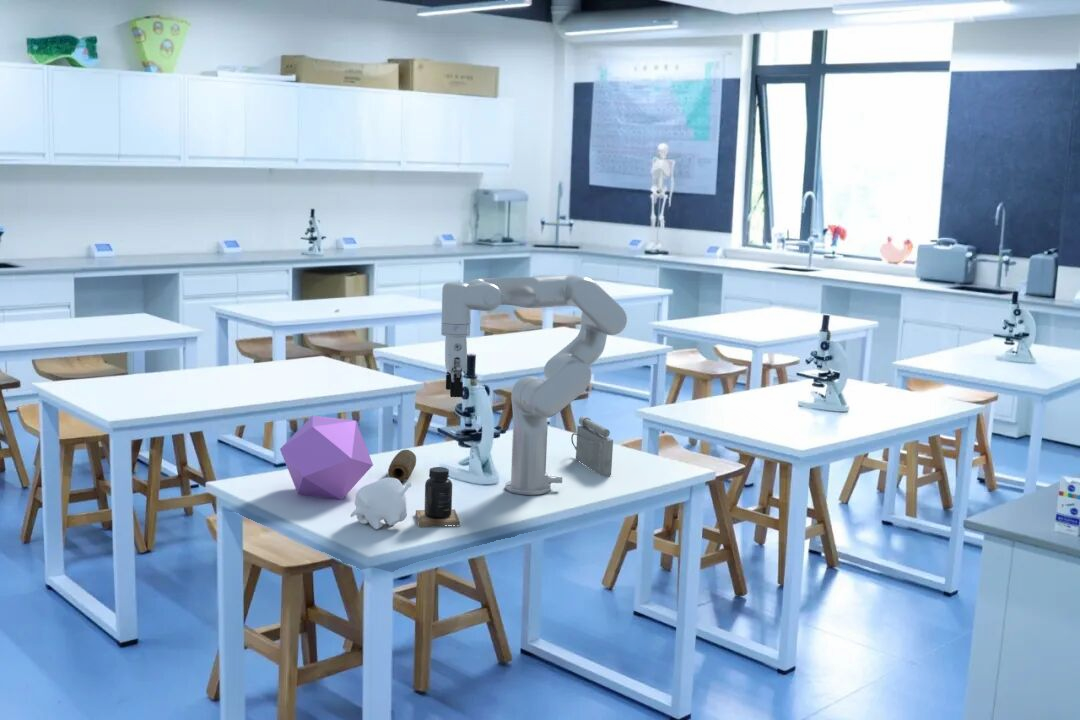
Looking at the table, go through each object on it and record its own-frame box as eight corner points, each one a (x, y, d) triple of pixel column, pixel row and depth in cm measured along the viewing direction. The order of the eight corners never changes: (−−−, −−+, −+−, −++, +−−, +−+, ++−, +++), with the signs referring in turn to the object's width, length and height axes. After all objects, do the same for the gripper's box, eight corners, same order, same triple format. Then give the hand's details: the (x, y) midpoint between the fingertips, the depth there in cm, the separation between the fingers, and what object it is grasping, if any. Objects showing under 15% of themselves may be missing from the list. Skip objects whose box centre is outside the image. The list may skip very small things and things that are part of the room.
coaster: (454, 513, 294) (454, 509, 293) (459, 526, 284) (459, 521, 284) (415, 514, 292) (415, 509, 291) (419, 527, 282) (419, 522, 282)
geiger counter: (617, 429, 333) (583, 411, 356) (597, 430, 331) (564, 412, 354) (615, 475, 336) (580, 454, 359) (595, 477, 333) (562, 455, 356)
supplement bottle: (418, 514, 288) (419, 468, 286) (440, 509, 292) (441, 464, 290) (435, 521, 283) (436, 474, 281) (457, 516, 287) (458, 470, 285)
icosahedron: (394, 476, 301) (364, 392, 309) (323, 489, 287) (293, 400, 295) (357, 509, 317) (329, 428, 324) (288, 522, 303) (261, 438, 310)
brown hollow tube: (392, 469, 333) (392, 447, 332) (416, 470, 334) (417, 447, 332) (387, 483, 319) (387, 460, 318) (412, 484, 319) (412, 461, 318)
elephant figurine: (383, 530, 290) (365, 488, 291) (434, 505, 281) (415, 462, 282) (353, 543, 280) (333, 500, 281) (404, 519, 271) (384, 474, 272)
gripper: (474, 334, 294) (472, 399, 297) (465, 324, 311) (463, 386, 313) (445, 334, 292) (443, 400, 295) (437, 324, 309) (436, 386, 312)
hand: (453, 393), depth 304 cm, fingers open, 9 cm apart
